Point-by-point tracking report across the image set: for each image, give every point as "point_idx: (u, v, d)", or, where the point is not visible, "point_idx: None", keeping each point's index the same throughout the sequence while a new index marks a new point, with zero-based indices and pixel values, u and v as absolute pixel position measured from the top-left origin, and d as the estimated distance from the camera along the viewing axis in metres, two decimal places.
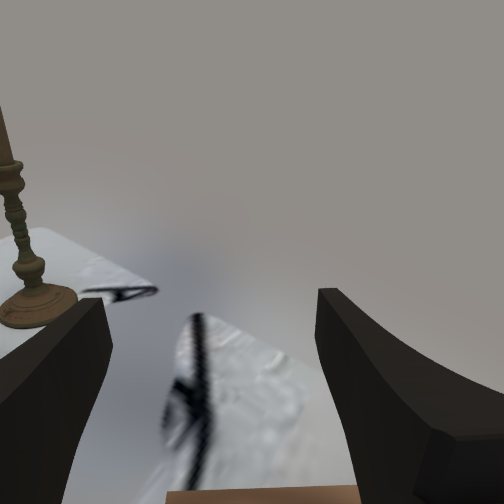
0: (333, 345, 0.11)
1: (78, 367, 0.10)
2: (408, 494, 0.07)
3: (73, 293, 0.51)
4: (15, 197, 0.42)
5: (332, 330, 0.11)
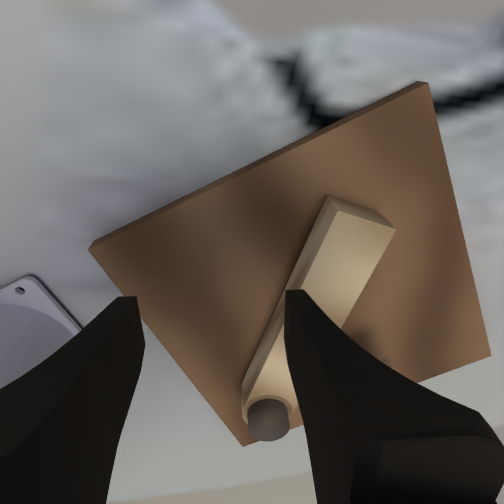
0: (296, 347, 0.11)
1: (118, 364, 0.10)
2: (347, 498, 0.07)
3: None
4: None
5: (295, 332, 0.11)
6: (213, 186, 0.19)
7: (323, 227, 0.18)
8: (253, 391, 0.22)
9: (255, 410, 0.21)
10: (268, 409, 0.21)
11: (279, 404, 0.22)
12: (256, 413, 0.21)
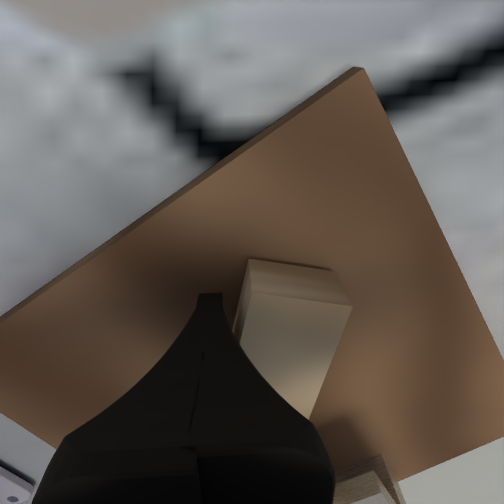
0: None
1: None
2: None
3: None
4: None
5: None
6: (78, 266, 0.13)
7: (243, 311, 0.12)
8: None
9: None
10: None
11: None
12: None
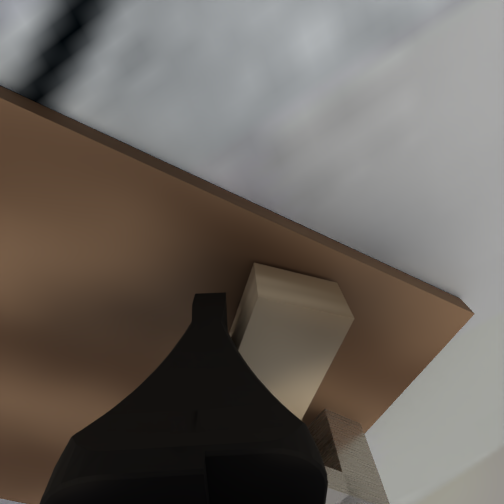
0: None
1: None
2: None
3: None
4: None
5: None
6: None
7: (245, 315, 0.12)
8: None
9: None
10: None
11: None
12: None
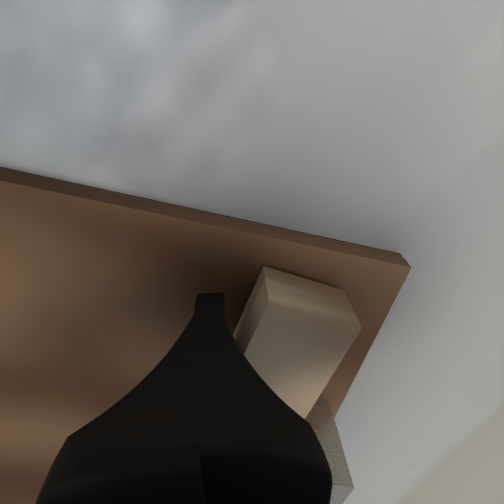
0: None
1: None
2: None
3: None
4: None
5: None
6: None
7: (252, 318, 0.12)
8: None
9: None
10: None
11: None
12: None
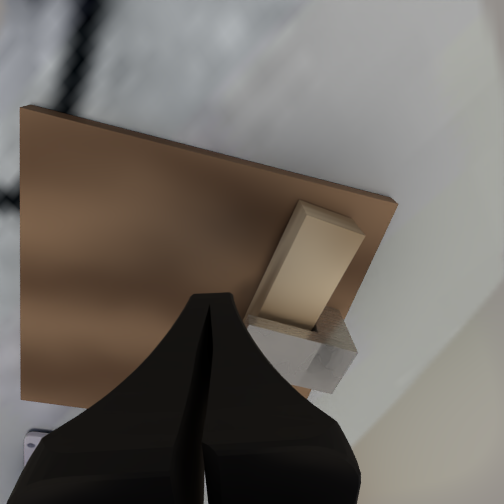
0: None
1: (205, 360, 0.11)
2: None
3: None
4: None
5: (212, 336, 0.11)
6: None
7: (293, 231, 0.18)
8: None
9: None
10: None
11: None
12: None
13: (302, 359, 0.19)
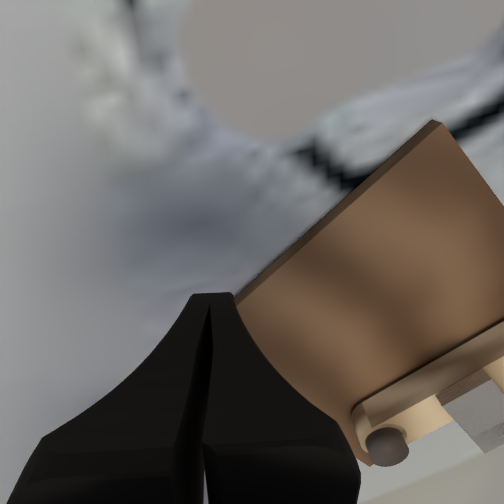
0: None
1: (206, 360, 0.11)
2: None
3: None
4: None
5: (212, 336, 0.11)
6: (275, 268, 0.21)
7: None
8: (392, 418, 0.23)
9: (387, 435, 0.23)
10: (400, 439, 0.23)
11: (403, 437, 0.24)
12: (389, 438, 0.23)
13: (494, 419, 0.22)
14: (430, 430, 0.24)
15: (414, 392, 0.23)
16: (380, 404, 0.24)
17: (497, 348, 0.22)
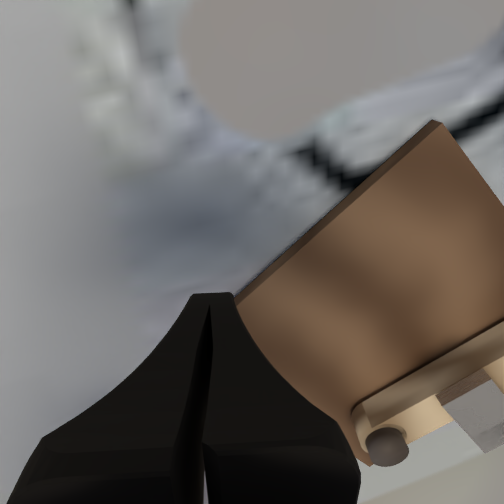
0: None
1: (206, 360, 0.11)
2: None
3: None
4: None
5: (212, 336, 0.11)
6: (275, 268, 0.21)
7: None
8: (392, 418, 0.23)
9: (387, 435, 0.23)
10: (400, 439, 0.23)
11: (403, 437, 0.24)
12: (389, 438, 0.23)
13: (494, 419, 0.22)
14: (430, 430, 0.24)
15: (414, 392, 0.23)
16: (380, 404, 0.24)
17: (497, 348, 0.22)
